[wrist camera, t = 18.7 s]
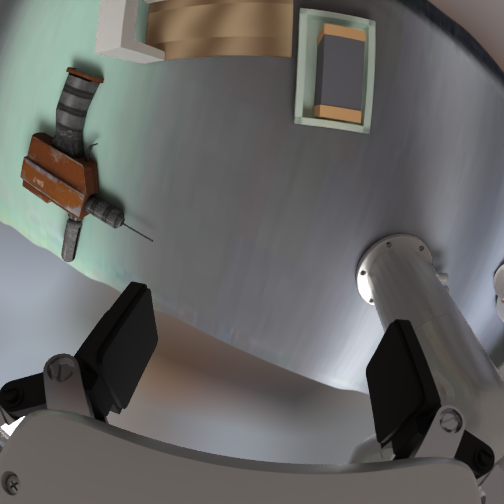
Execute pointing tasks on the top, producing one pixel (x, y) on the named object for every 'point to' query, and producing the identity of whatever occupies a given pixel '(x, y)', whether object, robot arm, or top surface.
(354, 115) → the block
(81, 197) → the tool
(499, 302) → the spread jar
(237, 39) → the holder
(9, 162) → the top surface
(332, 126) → the tray
